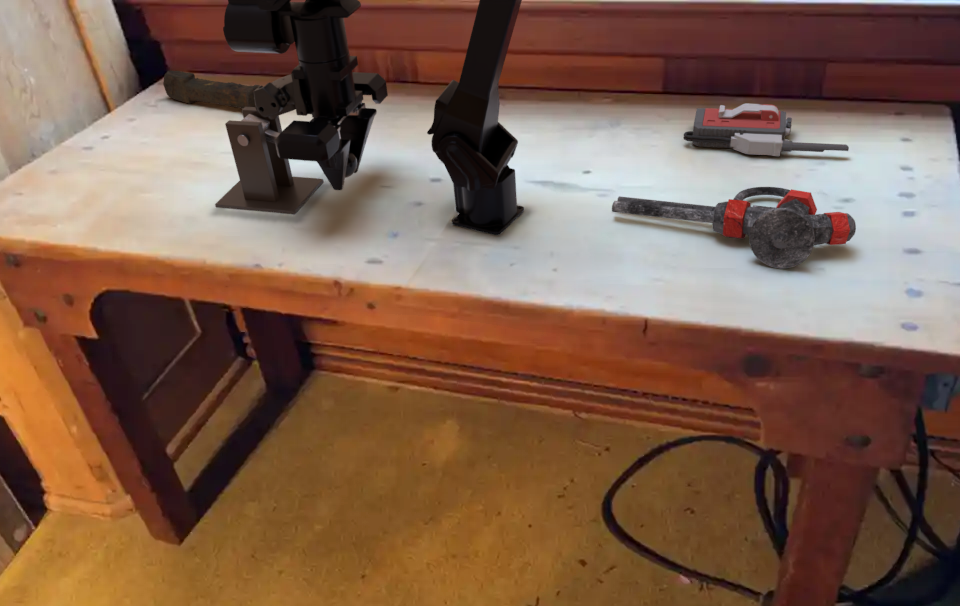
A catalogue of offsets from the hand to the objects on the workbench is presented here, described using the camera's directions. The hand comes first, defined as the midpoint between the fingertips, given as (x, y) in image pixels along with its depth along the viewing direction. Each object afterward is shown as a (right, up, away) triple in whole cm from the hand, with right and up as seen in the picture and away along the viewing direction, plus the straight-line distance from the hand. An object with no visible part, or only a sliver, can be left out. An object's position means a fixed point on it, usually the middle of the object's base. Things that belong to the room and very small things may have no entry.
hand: (345, 180), depth 109 cm
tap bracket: (-10, -1, +5) cm, 12 cm away
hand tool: (-25, +18, +32) cm, 44 cm away
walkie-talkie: (+53, +6, +7) cm, 54 cm away
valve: (+45, -7, -8) cm, 46 cm away
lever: (-6, +3, 0) cm, 6 cm away
